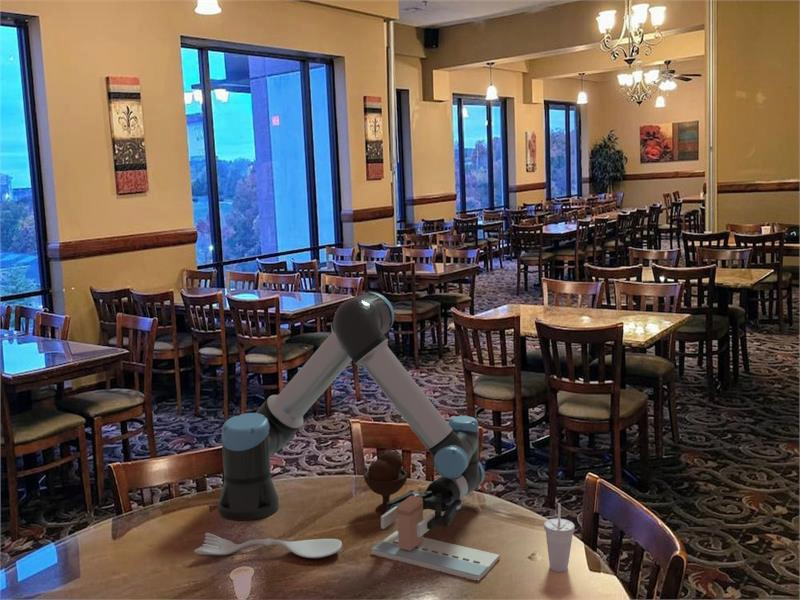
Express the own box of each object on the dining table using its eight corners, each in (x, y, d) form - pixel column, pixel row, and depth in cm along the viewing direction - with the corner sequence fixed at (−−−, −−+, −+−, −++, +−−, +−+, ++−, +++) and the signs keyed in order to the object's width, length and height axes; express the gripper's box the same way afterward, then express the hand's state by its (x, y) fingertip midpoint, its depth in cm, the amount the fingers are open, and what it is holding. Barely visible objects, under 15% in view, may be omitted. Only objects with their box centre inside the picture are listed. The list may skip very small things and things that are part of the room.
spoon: (206, 544, 182) (205, 530, 182) (344, 545, 181) (344, 531, 180) (194, 563, 174) (193, 548, 173) (339, 564, 172) (339, 549, 172)
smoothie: (572, 561, 171) (573, 499, 169) (575, 575, 165) (577, 511, 163) (542, 560, 172) (542, 498, 170) (544, 574, 166) (545, 510, 164)
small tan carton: (398, 548, 175) (397, 504, 174) (411, 537, 180) (410, 495, 179) (410, 551, 174) (409, 507, 172) (423, 540, 179) (423, 497, 178)
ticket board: (371, 554, 176) (371, 548, 176) (396, 534, 185) (396, 530, 185) (478, 581, 163) (478, 575, 163) (499, 559, 173) (499, 554, 172)
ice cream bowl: (381, 498, 208) (380, 442, 205) (416, 507, 201) (415, 450, 199) (355, 511, 199) (354, 454, 197) (391, 522, 193) (390, 462, 190)
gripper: (486, 514, 187) (443, 553, 168) (408, 498, 197) (359, 533, 178) (486, 484, 186) (443, 519, 166) (408, 469, 196) (358, 501, 177)
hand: (400, 526), depth 172 cm, fingers open, 8 cm apart
